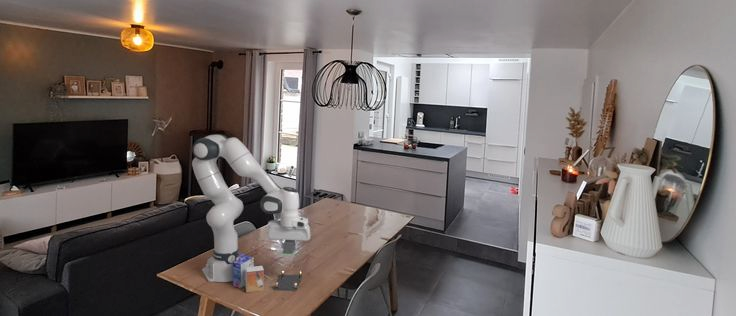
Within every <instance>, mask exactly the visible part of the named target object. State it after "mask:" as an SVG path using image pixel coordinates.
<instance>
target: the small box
mask: <svg viewBox="0 0 736 316" xmlns="http://www.w3.org/2000/svg"><path fill="white" fill-rule="evenodd" d="M264 277H265V270H264V267H263V265H257V266H255V265H254V267H246V280H245V286H244V287H245V291H246V293H247V294H249V293H253V292H255V293H256V292H263V291H265V289H264V288H265V287H264V286H265V285H264V284H265V282H264V281H265V278H264Z"/></svg>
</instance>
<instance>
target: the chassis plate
mask: <svg viewBox="0 0 736 316" xmlns="http://www.w3.org/2000/svg"><path fill="white" fill-rule="evenodd" d="M302 278H303V275H302V270H299V271H298V274H285V270H284V269H281V270H280V276H279V278H278V280H277V281H275V282H274V287H273V290H274V291H286V292H287V291H289V292H297V291H298V289H299V286H300V283H301V281H302Z"/></svg>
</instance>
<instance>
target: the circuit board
mask: <svg viewBox="0 0 736 316" xmlns="http://www.w3.org/2000/svg"><path fill="white" fill-rule="evenodd" d="M294 244H296V240H284V241H283V248H282V249H283V250H282V252H281V253H280V257H282V258H294V256H295V255H296V253H297V250H298V248H297V249H294Z"/></svg>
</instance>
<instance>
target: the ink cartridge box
mask: <svg viewBox="0 0 736 316" xmlns="http://www.w3.org/2000/svg"><path fill="white" fill-rule="evenodd" d="M238 257H239V259H238V260H236V261H235V262H233V263H232V264H233V281H232V284H233V287H237V288H239V289H242V288H244V287H245V280H246V267H255V265H254V264H255V263H254V256H249V255H244V253H241V254H239V256H238ZM240 257H241V258H240Z"/></svg>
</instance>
